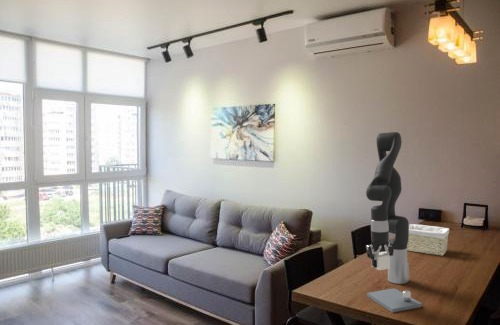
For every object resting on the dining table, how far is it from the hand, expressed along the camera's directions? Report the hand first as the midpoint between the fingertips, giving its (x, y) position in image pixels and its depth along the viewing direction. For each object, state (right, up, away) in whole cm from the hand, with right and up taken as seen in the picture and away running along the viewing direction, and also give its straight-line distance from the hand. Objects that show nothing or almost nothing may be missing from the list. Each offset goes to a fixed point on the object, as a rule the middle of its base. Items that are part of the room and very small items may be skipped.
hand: (380, 266), depth 173 cm
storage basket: (+53, -9, +70) cm, 88 cm away
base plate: (+5, -15, -2) cm, 16 cm away
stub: (+9, -14, -6) cm, 18 cm away
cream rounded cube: (0, -1, 0) cm, 1 cm away
